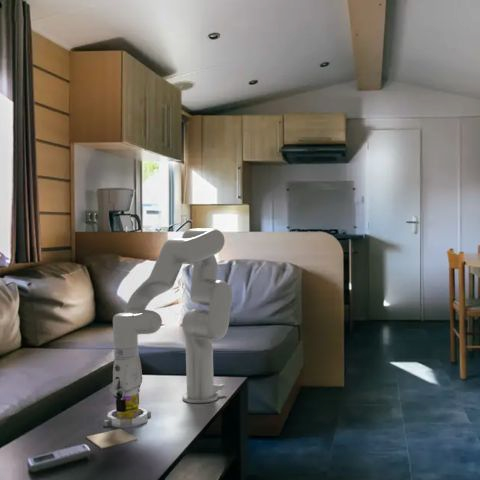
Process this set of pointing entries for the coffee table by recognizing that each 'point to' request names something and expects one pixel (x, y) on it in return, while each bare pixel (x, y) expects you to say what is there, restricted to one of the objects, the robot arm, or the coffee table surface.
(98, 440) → the mat
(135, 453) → the coffee table surface
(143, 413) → the collar
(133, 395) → the supplement bottle
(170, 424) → the coffee table surface
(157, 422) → the coffee table surface
